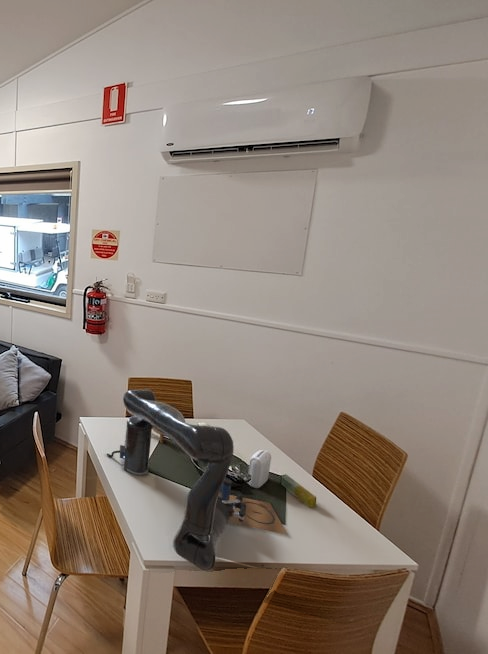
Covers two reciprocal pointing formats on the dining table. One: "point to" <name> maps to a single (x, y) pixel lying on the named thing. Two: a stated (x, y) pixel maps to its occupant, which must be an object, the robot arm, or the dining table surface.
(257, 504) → the face circle
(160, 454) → the dining table surface
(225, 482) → the marker
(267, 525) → the sketch board
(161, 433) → the lion figurine
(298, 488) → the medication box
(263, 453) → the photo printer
